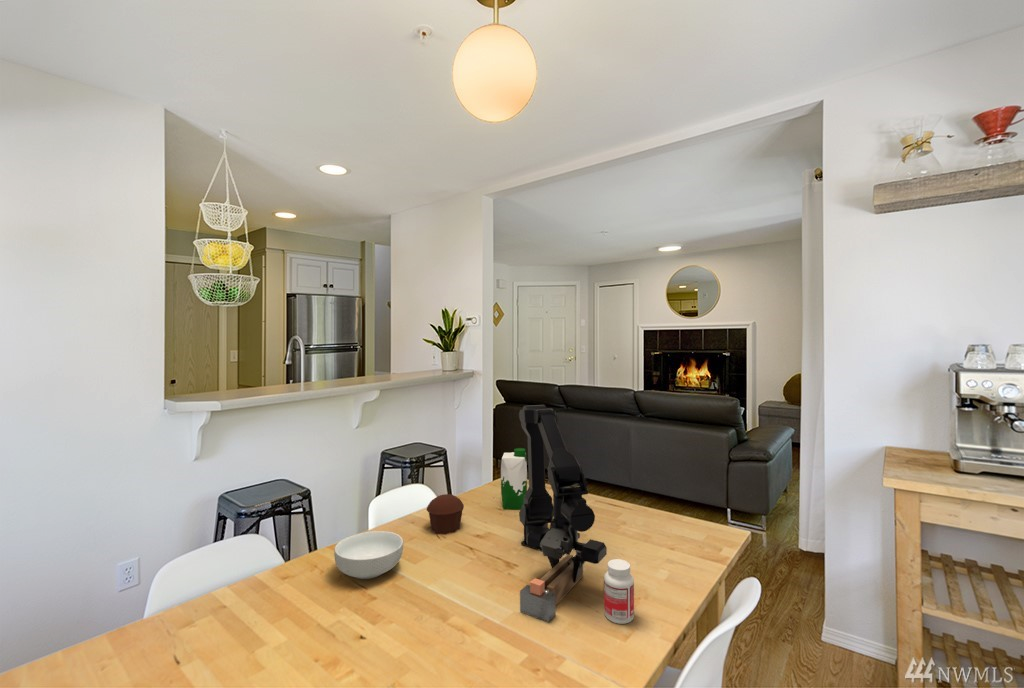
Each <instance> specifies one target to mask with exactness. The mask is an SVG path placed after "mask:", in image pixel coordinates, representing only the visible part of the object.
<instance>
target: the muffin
mask: <svg viewBox="0 0 1024 688" xmlns="http://www.w3.org/2000/svg"><path fill="white" fill-rule="evenodd" d="M464 509H465V506H464V503H463V501H462V500H461V499H460V498H459V497H458V496H456V495H454V494H450V493H449V494H448V493H445V494H441V495H437V496H436V497H434V498H433V499H432V500H431V501H430V502H429V503H428V505H427V506H426V511H427V512H428V517H429V522H430V528H431V532H433V533H435V534H436V535H437V534H438V535H449V534H454V533H456V532H457V531H458V530H460V529H461V523H462V515H463V510H464Z"/></svg>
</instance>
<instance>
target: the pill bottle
mask: <svg viewBox="0 0 1024 688" xmlns="http://www.w3.org/2000/svg"><path fill="white" fill-rule="evenodd" d="M634 582H635V580H634V577H633V575H632V574H631V564H630V563H629V562H628V561H627V560H625V559H621V558H615V559H611V560H609V561H608V562H607V571H606V572H605V573H604V576H603V599H604V601H603V606H604V607H603V608H604V609H603V610H604V615H605V617H606V618H607V620H609V621H610V622H612V623H615V624H619V625H620V624H622V625H623V624H624V625H625V624H628V623H630V622H632V621H633V620H634V618H635V583H634Z"/></svg>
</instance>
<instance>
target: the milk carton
mask: <svg viewBox="0 0 1024 688" xmlns="http://www.w3.org/2000/svg"><path fill="white" fill-rule="evenodd" d="M526 451H527V450H526V448H524V447H517V448H514V450H513V451H512V452H503V455H502V457H501V465H500V495H501V502H502V509H503V510H508V511H509V510H519V511H520V510H521V507H522V505H523V504H524V495H525V494H526V492H527V490H528V467H527V465H528V461H527V453H526Z"/></svg>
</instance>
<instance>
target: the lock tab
mask: <svg viewBox="0 0 1024 688" xmlns="http://www.w3.org/2000/svg"><path fill="white" fill-rule="evenodd" d="M529 585H530V593H533V594H536V595H539V596H541V595H542V594H543V593H544V592H545V581H542V580H540V579H538V578H536V577H534V579H532V580H531V581H530V582H529Z"/></svg>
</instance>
